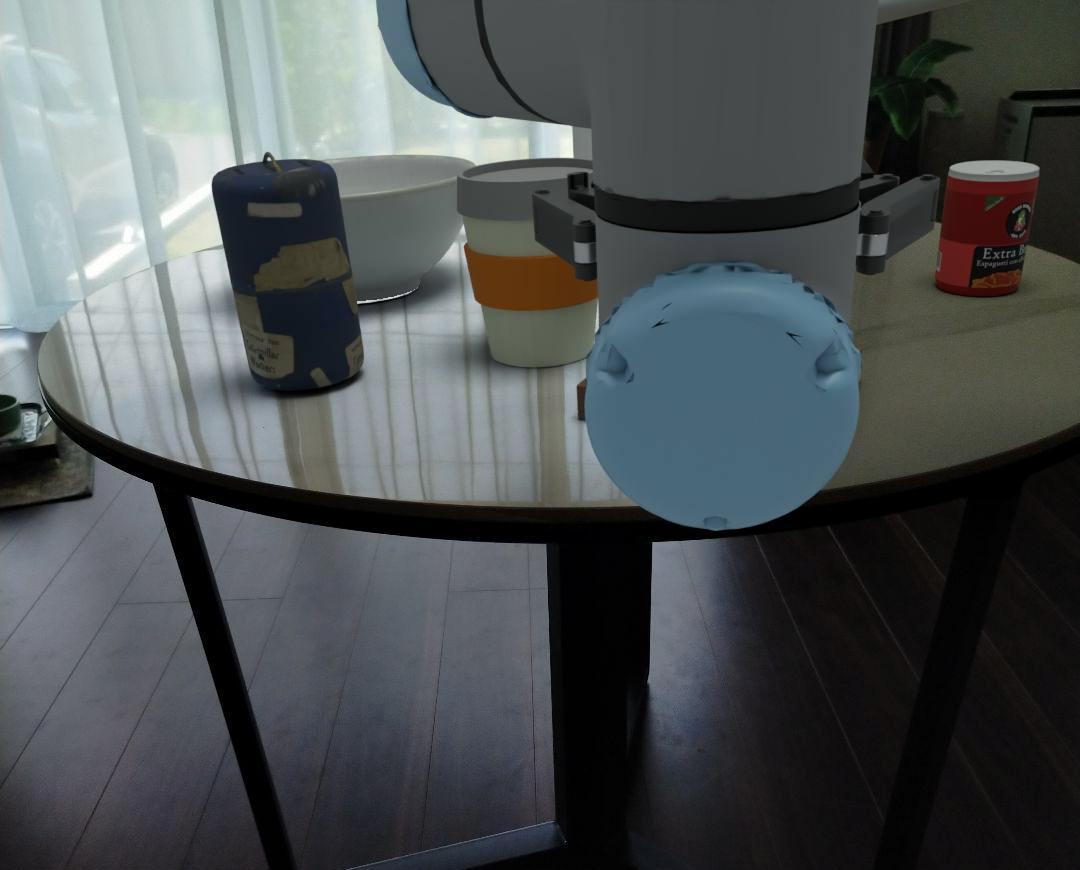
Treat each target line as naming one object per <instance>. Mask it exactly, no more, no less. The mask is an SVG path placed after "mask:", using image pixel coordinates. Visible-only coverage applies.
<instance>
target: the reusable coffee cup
mask: <svg viewBox="0 0 1080 870" xmlns="http://www.w3.org/2000/svg"><path fill="white" fill-rule="evenodd" d="M573 172H588V185H589V186H591V182H592V181H593V161H592V159H583V158H573V157H536V158H535V157H534V158H522V159H519V158H518V159H511V160H510V159H509V160H501V161H494V162H488V163H483V164H478V165H476V166H473V167H470V168H467V169H463V170H462V171H460V172H458V174H457V212H458V213H459V214H461V215H462V219H463V223H464V224H463V228H464V232H465V237H466V241H467V242H465V243H464V245H463V251H464V256H465V261H466V265H467V270H468V274H469V279H470V285H471V289H472V293H473V297H474V300H475V302H477V303H478V304H479V305H480V308H481V312H482V316H483V317H482V318H483V321H484V326H485V331H486V335H487V340H488V344H489V349H490V354H491V357H492V358H493V360H494V361H497V362H499V363H501V364H504V365H507V366H511V367H520V368H547V367H557V366H558V367H559V366H562V365H563V366H565V365H567V364H572V363H576V362H579V361H581V360H584V359H585V358H586V357H587V354H588V351H590V350H591V349H592V348H593V346H594V344H595V337H594V335H595V333H596V326H597V313H598V280H597V279H596V280H593V281H583V280H579V279H576V278H575V268H574V267H573V266H572V265H570V264H569V263H567V262H566V261H564V260H563V259H561V258H560V257H559V256H557V255H556V254H554V253H553V252H551V251H550V250H548V249H547V248H545V247H544V246H542V245H541V244H539V243H538V242H536V241H535V233H534V219H533V201H532V193H533V192H535V191H536V190H539V189H548V190H550V191H555V192H557V193H559V194H561V195H563V196H565V197H568V186H567V174H568V173H573Z"/></svg>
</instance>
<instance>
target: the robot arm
mask: <svg viewBox="0 0 1080 870" xmlns="http://www.w3.org/2000/svg"><path fill="white" fill-rule="evenodd" d="M972 1H973V0H375V5H376V6H375V7H376V15H377V27H378V30H379V31H380V35H381V39H382V41H383V43H384V46H385V48H386V51H387V53H388V56H389V57H390V59H391V61H392V63H393V65H394V66H395V68H396V70H397V71H398V72H399V73H400V75H401V76H402V77H403V78H404V79H405V80H406V82H407V83H408V84H409V85H410V86H411V87H412V88H414V89H415V90H416V91H418V92H419V93H421V94H422V95H423V96H425V97H426V98H428V99H430V100H431V101H434V102H436V103H437V104H440V105H442V106H443V105H444V106H446V107H451V108H453V109H454V110H455V111H456V112H458V113H460V114H462V115H464V116H466V117H470V118H473V119H474V118H475V119H484V120H485V119H491V118H501V119H502V118H503V119H511V120H517V121H528V122H537V123H545V124H552V125H553V124H554V125H561V126H569V127H572V126H574V127H581V128H588V129H591V133H592V161H593V181H592V182H591V186H589V185H588V172H573V173H568V174H567V186H568V197H565V196H563V195H561V194H559V193H557V192H555V191H550V190H548V189H539V190H536V191H535V192H533V193H532V201H533V219H534V233H535V241H536V242H538V243H539V244H541V245H542V246H544V247H545V248H547V249H548V250H550V251H551V252H553V253H554V254H556V255H557V256H559V257H560V258H561V259H563V260H564V261H566V262H567V263H569V264H570V265H572V266H573V267H574V268H575V278H576V279H579V280H583V281H593V280H596V279H597V280H598V305H597V310H598V329H597V330H596V331H595V335H594V346H593V348H592V349H591V350H590V351H588V354H587V357H585V358H586V359H585V378H586V383H587V387H586V393H585V420H584V421H585V425H586V430H587V431H586V432H587V435H588V438H589V442H590V444H591V445H590V446H591V448H592V451H593V453H594V456H595V457H596V460H597V462H598V463H599V465H600V467H601V468H602V469H603V471H604V473H605V474H606V475H607V477H608V478H609V479H610V480H611V482H612V483H613V484H614V485H615V487H617V488H618V489H619V491H621V492H622V494H624V496H626V497H627V498H628V499H629V500H631V501H633V502H634V503H635V504H636V506H638V507H640V508H641V509H643V510H645V511H647V512H649V513H650V514H653V515H655V516H658V517H660V518H662V519H664V520H666V521H668V522H671V523H673V524H677V525H681V526H684V527H690V528H697V529H705V530H710V531H714V532H717V531H724V530H739V529H744V528H750V527H755V526H758V525H762V524H766V523H768V522H770V521H773V520H775V519H779V518H781V517H782V516H783V517H784V516H786V515H787V514H789V513H791V512H793V511H795V510H796V509H798V508H799V507H801V506H802V505H803V504H805V503H806V502H807V501H809V500H811V498H813V497H814V496H815V495H817V493H818V492H820V491H821V490H822V489H824V487H825V486H826V485H827V484H828V483H829V482H830V480H832V478H833V477H834V475H835V474H836V473H837V472H838V470H839V468H840V467H841V466H842V465H843V463H844V460H845V459H846V457H847V455H848V453H849V450H850V449H851V446H852V443H853V440H854V438H855V435H856V430H857V427H858V422H859V416H860V391H859V390H860V389H859V382H860V380H861V375H862V371H863V370H862V369H863V368H862V367H863V366H862V354H861V353H860V351H859V350H858V349H856V348H855V347H856V346H855V344H854V342H853V339H854V335H855V334H854V333H853V331H852V328H851V322H852V308H853V298H854V288H855V287H854V285H855V275H856V274H855V273H856V272H857V273H859V274H861V275H865V276H875V275H878V274H882V273H884V272H886V262H887V261H888V260H889V259H890V258H892V257H893V256H895V255H897V254H898V253H899V252H900V253H901V251H903V250H904V249H906V248H908V247H909V246H911V245H913V244H914V243H915V242H917V241H918V240H920V239H922V238H923V237H924V236H927V234H929V233H931V232H932V231H934V230H935V224H936V217H937V208H938V201H939V193H940V185H941V177H939V176H937V175H934V174H929V173H928V174H926V173H925V174H922V175H921V176H917V177H914V178H912V179H910V180H908V181H906V182H904V183H902V184H900V180H901V178H900V176H898V175H894V174H892V173H882V174H875V172H874V171H873V169H872V167H871V165H869V163H868V162H867V161H866V159H865V157H864V156H863V155H864V144H865V134H866V126H867V116H868V106H869V98H870V87H871V78H872V77H871V76H872V68H873V59H874V49H875V41H876V40H875V39H876V31H877V30H876V29H877V25H882V24H885V23H889V22H893V21H896V20H901V19H904V18H905V19H906V18H908V17H909V18H910V17H913V16H917V15H921V14H925V13H929V12H932V11H937V10H940V9H944V8H948V7H952V6H956V5H959V4H963V3H967V2H972Z"/></svg>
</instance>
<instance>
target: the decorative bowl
mask: <svg viewBox="0 0 1080 870" xmlns="http://www.w3.org/2000/svg"><path fill="white" fill-rule="evenodd" d="M318 160H319V161H323V162H325V163H327V164H329V165H330V166H331V167H332V168H333V169H334V171H335V173H336V176H337V180H338V187H339V193H340V200H341V206H342V212H343V219H344V226H345V232H346V239H347V246H348V252H349V258H350V264H351V269H352V274H353V280H354V286H355V292H356V298H357V301H366V300H377V299H383V298H388V297H394V296H397V295H401V294H404V293H407V292H410V291H413V290H414V289H416V288H417V287H419V285H420V286H421V277H422V276H424V275H425V274H426V273H427V272H429V271H430V270H431V269H432V268H433V267H435V266H437V264H438V263H439V262H440V261H441V260H442V259H443V257H445V255H446V254H447V253H448V251H449V250H450V249H451V247H452V246H453V244H454V242H455V241H456V240H457V237H458V236H459V234H460V233H461V230H462V228H463V227H464V223H463V219H462V215H461V214H459V213H458V212H457V174H458V172H460V171H462V170H463V169H467V168H470V167H473V166H477V165H476V163H474V162H473V161H471V160H469V159H466V158H461V157H458V156H457V157H456V156H448V155H437V154H382V155H380V154H379V155H363V156H362V155H361V156H348V157H347V156H346V157H336V158H328V159H327V158H326V159H318ZM419 288H420V287H419Z"/></svg>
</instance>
